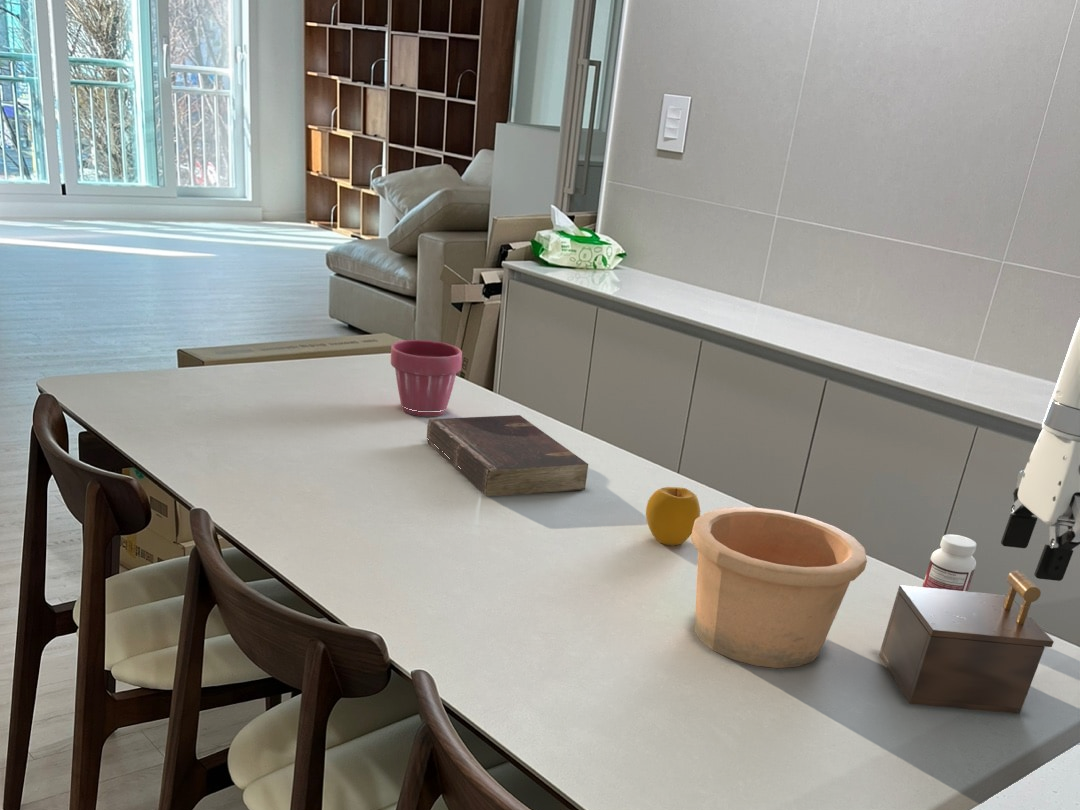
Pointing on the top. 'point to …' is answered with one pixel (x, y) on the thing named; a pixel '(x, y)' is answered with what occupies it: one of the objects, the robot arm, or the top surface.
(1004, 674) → the chest
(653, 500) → the apple
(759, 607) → the pottery
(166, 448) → the top surface
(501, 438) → the hardback book
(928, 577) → the pill bottle
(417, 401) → the flower pot
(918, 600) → the lid
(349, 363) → the top surface
